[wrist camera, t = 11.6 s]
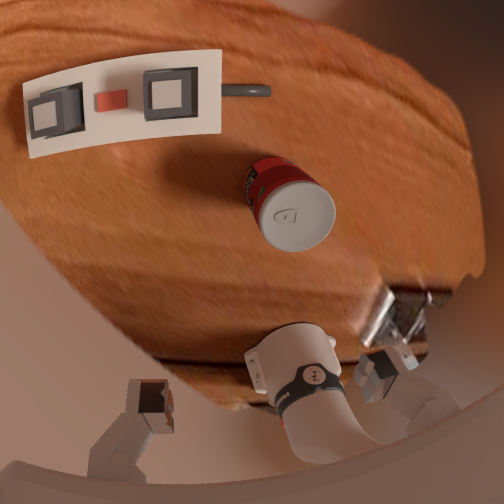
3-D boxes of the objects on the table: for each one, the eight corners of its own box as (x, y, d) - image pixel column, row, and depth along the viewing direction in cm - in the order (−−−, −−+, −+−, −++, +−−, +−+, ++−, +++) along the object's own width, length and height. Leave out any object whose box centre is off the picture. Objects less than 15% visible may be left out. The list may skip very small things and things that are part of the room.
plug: (191, 109, 29) (191, 115, 22) (155, 111, 29) (143, 119, 22) (191, 74, 27) (190, 69, 20) (154, 77, 27) (142, 74, 20)
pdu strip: (266, 126, 34) (290, 140, 26) (47, 148, 29) (11, 170, 21) (269, 56, 29) (295, 47, 21) (41, 81, 24) (1, 85, 16)
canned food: (235, 162, 36) (253, 193, 26) (297, 149, 36) (334, 174, 27) (247, 216, 40) (266, 261, 31) (303, 202, 40) (337, 242, 31)
